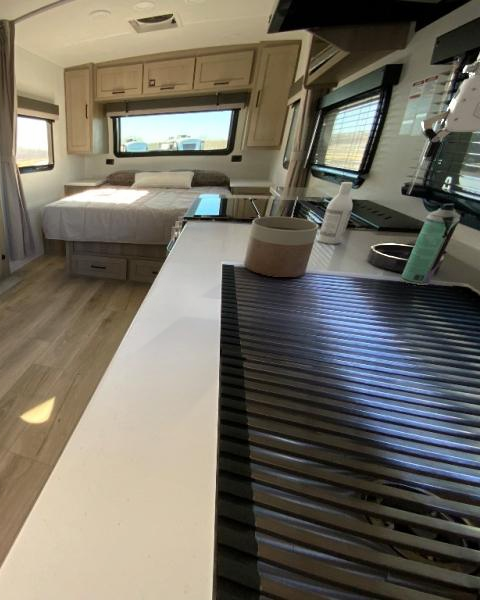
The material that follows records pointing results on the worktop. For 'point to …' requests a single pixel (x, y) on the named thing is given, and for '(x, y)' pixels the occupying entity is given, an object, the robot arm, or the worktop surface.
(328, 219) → the bath foam
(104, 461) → the worktop surface
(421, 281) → the spray can
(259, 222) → the planter
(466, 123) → the robot arm
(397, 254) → the pan
